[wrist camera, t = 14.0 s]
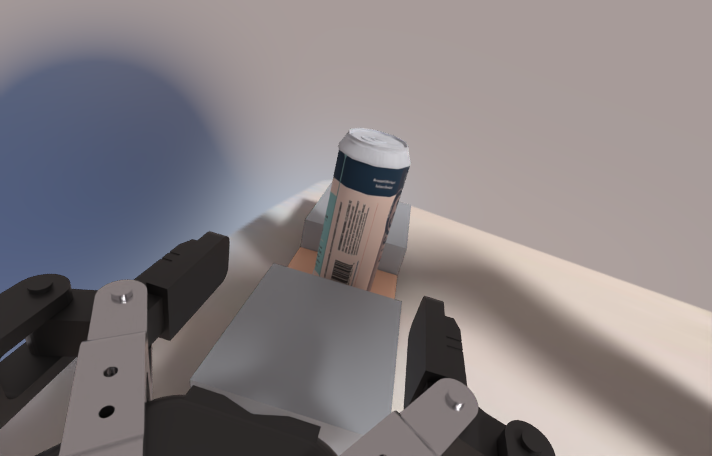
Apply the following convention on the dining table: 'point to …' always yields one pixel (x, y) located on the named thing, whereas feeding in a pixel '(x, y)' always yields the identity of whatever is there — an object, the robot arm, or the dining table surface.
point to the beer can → (361, 206)
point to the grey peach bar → (315, 342)
